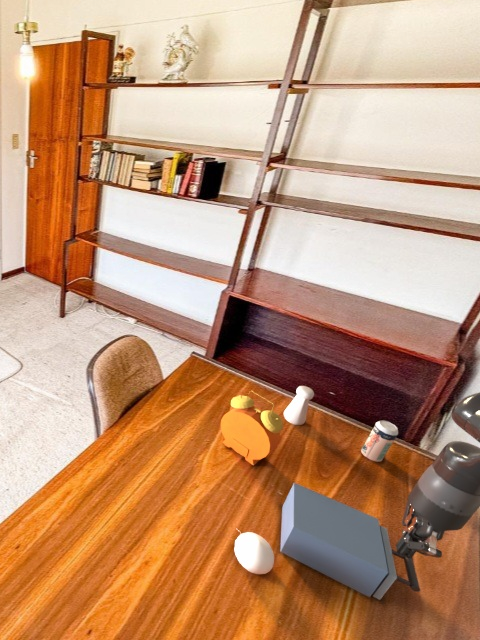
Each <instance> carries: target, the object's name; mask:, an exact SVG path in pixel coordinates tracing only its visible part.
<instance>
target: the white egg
mask: <svg viewBox="0 0 480 640" xmlns="http://www.w3.org/2000/svg"><path fill="white" fill-rule="evenodd" d="M237 531H238V532H239V533H240V534H239V535H238V536H237V537H236V538H235V540H234V548H233V549H234V554H235V557H236V558H237V561H238V563H239V564H240V565H241V566H242V567H243V568H244V569H245V570H246V571H248V572H250V573H252V574H254V575H266V574H267V573H269V572H270V571H271V570H272V569H273V568H274V565H275V555H274V551H273V548H272V546H271V545H270V543H269V542H268V541H267V540H266V539H265V538H264V537H263V536H262V535H259V534H257V533H255V532H252V531H251V532H243V533H241V531H240V530H238V529H237Z"/></svg>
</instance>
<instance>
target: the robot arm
mask: <svg viewBox="0 0 480 640" xmlns="http://www.w3.org/2000/svg"><path fill="white" fill-rule="evenodd" d="M451 418H452V421H453V422H454V424H456V426H458V427H459V428H460V429H461V430H462V431H464V432H465V433H467V434H468V435H469V436H471V438H473V439H474V440H475V441H477V442H478V443H479V444H480V391H479V392H476V393H473V394H469V395H467V396H465V397H462V398H461V399H460V400H458V401H457V402H456V403H455V405H454V406H453V407H452V410H451ZM404 508H405V509H404V512H403V517H402V521H401V525H402V526H403V529H402V530H401V532H402V536H401V537H400V538H399V540H398V541H397V542H396V544H395V549H396V552H397V553H398V554H400V555H402V556H405V557H407V558H412V559H413V557H414V555H415V554H416V553H419V554H420V555H423V556H425V557H432V558H438V559H441V558H442V556H443V552H442V550H441V549H439V547H437V542H439V541H442V539H443V538H444V535H445V532H448V531H449V532H450V531H460V530H461V529H462V528H464V526H465V525H466V524H468V521H469V520H470V519H471V518H472V517H473V516H474V515H475V513H476V512H477V511H478V510H479V508H480V447H479V446H478V445H475V444H472V443H470V442H466V441H462V440H454V441H450V442H448V443H446V444H445V446H444V447H443V448H442V449H441V451H439V454H438V455H437V456H436V458H435V460H434V461H433V462H432V463H431V464H430V465H429V466H428V467H427V468H426V469H425V470H424V472H423V473H422V475H421V476H420V477H419V479H418V480H417V482H416V483H415V485H414V486H413V488H412V489H411V490H410V491H409V493H408V495H407V500H406V504H405V507H404Z"/></svg>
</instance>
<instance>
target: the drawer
mask: <svg viewBox="0 0 480 640" xmlns="http://www.w3.org/2000/svg"><path fill="white" fill-rule="evenodd" d="M380 530H381V535H382V541H383V546H384V551H385V557H386V562H387V568H388V574H387V575H386V576H385V578H384V579H383V580H382V582H381V583H380V584H379V586H378V587H377V588H376V590H375V591H374V592H373V594H372V595H371V596H372V597H373V598H374V599H377V600H379V601H381V600H382V599H383V596H385V594H386V593H387V592H388V591H389V589H390V588H391V587H392V585H393V584H394V583H395V581H398V582H400V583H401V584H404V585H406V586H407V587H409V588H410V590H412V591H413V592H417V593H419V592H421V588H420V584H419V579H418V576H417V570H416V568H415V563H414V559H413V557H412V558H407V557H405V556H402V555H400V554H398V553H397V550H394V549H392V546H391V540H390V537H389V531H388V528H387V527H384V526H383V525H380ZM394 556H396V557H398V558H400V559H403V561H404V567H405V571H406V575H407V576H406V577H407V579H405V578H403V577H400V576H398V575H397V571H396V566H395V561H394V560H395V559H394Z"/></svg>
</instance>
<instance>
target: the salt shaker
mask: <svg viewBox="0 0 480 640" xmlns="http://www.w3.org/2000/svg"><path fill="white" fill-rule="evenodd" d="M295 393H296V395H295V397H294V398H293V399H292V400H291V402H290V403H289V404H288V405H287V407H286V408H285V410H284V411H283V418H284V419H285V420H286V422H288V423H290V424H292V425H294V426H302V425H304V424H305V422H306V421H307V418H308V417H307V416H308V409H309V403H310V400H313V398H314V396H315V391H314V390H313V389H312V388H311V387H308V386H306V385H299V386H298V387H297V388H296V391H295Z"/></svg>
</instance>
